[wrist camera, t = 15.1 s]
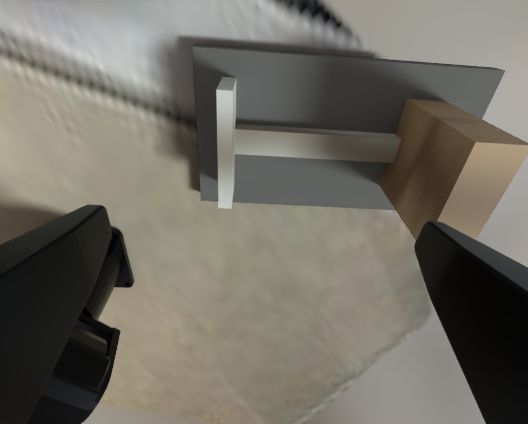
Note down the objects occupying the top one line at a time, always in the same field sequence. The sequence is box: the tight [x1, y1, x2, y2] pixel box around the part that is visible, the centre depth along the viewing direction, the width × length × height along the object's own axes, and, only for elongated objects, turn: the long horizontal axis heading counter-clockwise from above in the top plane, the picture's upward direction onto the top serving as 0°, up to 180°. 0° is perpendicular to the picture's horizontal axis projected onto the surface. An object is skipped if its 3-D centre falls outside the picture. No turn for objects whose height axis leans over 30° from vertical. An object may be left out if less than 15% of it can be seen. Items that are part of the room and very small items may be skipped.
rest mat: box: [192, 45, 505, 210], centre depth 20 cm, size 10×18×1 cm, turn 86°
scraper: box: [216, 77, 528, 240], centre depth 17 cm, size 7×14×7 cm, turn 86°
